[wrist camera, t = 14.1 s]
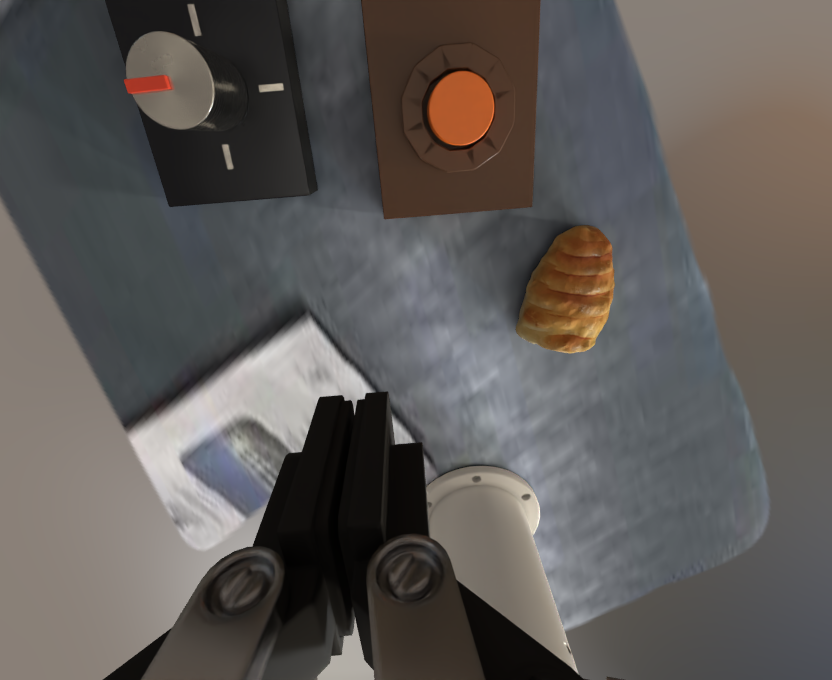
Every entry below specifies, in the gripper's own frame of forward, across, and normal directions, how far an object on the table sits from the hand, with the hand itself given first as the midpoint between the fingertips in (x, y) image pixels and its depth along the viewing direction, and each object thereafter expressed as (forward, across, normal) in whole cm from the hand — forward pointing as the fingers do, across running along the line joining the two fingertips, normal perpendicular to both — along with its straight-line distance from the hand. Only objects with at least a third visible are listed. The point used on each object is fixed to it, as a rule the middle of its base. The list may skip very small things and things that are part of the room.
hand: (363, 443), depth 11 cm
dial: (+20, +9, -10) cm, 24 cm away
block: (+23, -5, -8) cm, 25 cm away
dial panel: (+23, +9, -10) cm, 27 cm away
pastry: (+23, -13, +5) cm, 27 cm away
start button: (+19, -5, -8) cm, 22 cm away
